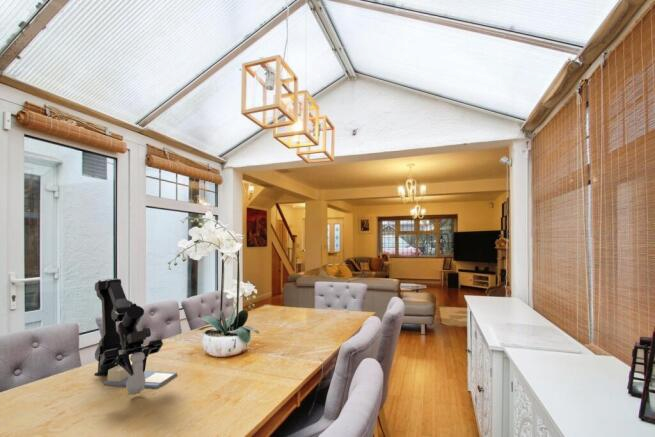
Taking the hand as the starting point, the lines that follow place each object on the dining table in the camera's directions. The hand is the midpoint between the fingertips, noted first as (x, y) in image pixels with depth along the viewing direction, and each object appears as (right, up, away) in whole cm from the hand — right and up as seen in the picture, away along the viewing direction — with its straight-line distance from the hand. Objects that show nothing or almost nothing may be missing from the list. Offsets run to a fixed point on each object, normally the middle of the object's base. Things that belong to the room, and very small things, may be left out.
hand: (138, 373), depth 107 cm
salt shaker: (-1, -7, 0) cm, 7 cm away
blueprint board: (-7, -10, +14) cm, 18 cm away
